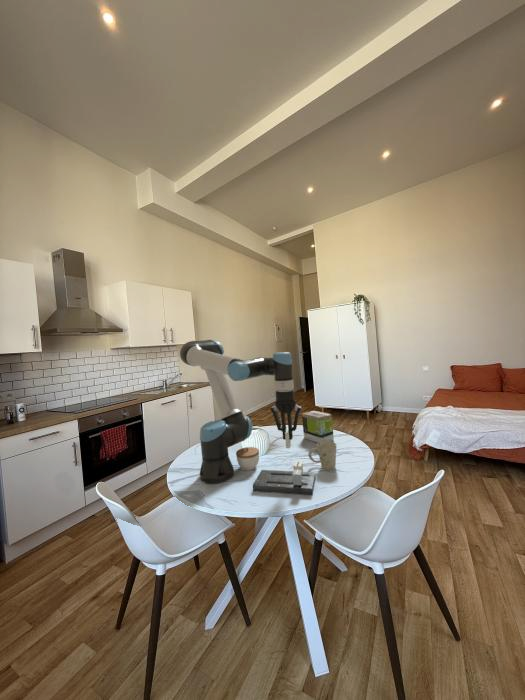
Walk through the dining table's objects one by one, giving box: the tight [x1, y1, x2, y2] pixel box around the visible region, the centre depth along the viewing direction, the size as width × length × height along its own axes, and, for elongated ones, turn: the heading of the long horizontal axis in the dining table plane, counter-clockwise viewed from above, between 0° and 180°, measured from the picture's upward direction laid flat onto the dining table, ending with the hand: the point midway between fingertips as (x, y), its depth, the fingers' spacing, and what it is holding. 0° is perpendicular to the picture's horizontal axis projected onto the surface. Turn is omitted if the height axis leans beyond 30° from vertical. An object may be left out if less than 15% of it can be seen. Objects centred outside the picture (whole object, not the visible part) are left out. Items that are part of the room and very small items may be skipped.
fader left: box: [293, 461, 304, 474], centre depth 114 cm, size 3×4×4 cm
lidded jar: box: [235, 446, 260, 471], centre depth 130 cm, size 11×11×9 cm
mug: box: [308, 441, 337, 471], centre depth 125 cm, size 8×13×10 cm, turn 78°
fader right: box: [293, 469, 303, 485], centre depth 107 cm, size 3×4×4 cm
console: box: [252, 469, 316, 496], centre depth 112 cm, size 23×13×3 cm, turn 74°
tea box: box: [301, 410, 335, 444], centre depth 160 cm, size 15×10×15 cm, turn 32°
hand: (288, 447), depth 115 cm, fingers closed
